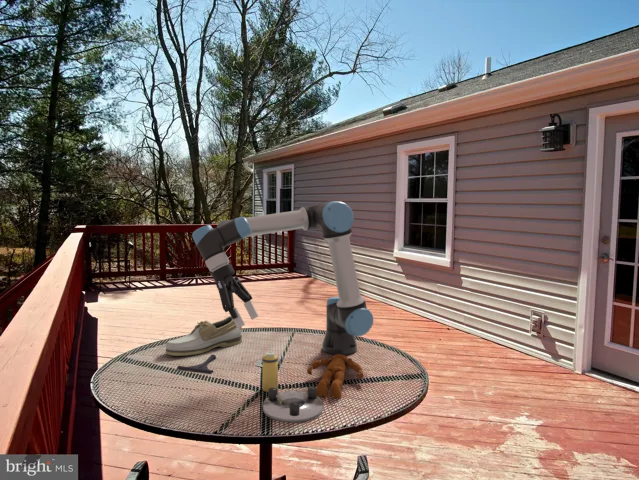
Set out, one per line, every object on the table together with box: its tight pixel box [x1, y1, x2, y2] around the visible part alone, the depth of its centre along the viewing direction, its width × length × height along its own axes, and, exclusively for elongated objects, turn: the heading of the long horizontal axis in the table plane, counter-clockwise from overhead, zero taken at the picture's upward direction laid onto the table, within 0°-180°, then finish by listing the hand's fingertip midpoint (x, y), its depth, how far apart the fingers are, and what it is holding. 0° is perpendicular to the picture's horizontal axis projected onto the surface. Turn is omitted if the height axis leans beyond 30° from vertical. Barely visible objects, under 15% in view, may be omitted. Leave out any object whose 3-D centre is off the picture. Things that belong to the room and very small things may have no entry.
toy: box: [306, 354, 364, 399], centre depth 151 cm, size 20×7×30 cm
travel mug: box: [261, 352, 279, 393], centre depth 142 cm, size 5×5×12 cm
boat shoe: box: [165, 315, 243, 357], centre depth 185 cm, size 13×36×12 cm, turn 138°
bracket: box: [176, 354, 217, 375], centre depth 165 cm, size 14×15×3 cm
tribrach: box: [262, 385, 324, 423], centre depth 129 cm, size 18×18×4 cm
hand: (248, 322), depth 148 cm, fingers open, 13 cm apart
